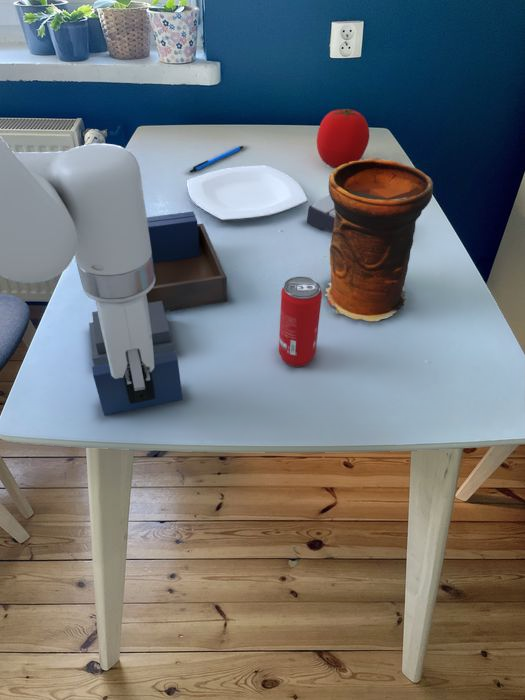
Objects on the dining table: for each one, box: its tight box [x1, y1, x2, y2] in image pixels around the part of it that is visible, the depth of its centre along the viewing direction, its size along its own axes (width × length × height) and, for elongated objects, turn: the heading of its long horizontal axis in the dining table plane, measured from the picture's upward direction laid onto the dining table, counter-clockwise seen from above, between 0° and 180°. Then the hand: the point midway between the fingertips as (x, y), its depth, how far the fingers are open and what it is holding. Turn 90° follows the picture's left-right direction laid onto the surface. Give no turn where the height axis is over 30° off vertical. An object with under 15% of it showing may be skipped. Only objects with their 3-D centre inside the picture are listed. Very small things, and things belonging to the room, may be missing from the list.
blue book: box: [91, 351, 184, 416], centre depth 67 cm, size 10×2×7 cm, turn 107°
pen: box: [189, 145, 245, 173], centre depth 127 cm, size 1×19×1 cm, turn 143°
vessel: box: [324, 157, 434, 322], centre depth 81 cm, size 14×14×20 cm
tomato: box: [316, 108, 370, 169], centre depth 122 cm, size 12×12×13 cm
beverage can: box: [278, 276, 323, 368], centre depth 72 cm, size 5×5×12 cm
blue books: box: [147, 211, 200, 263], centre depth 92 cm, size 10×3×7 cm, turn 107°
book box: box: [146, 223, 228, 312], centre depth 89 cm, size 13×17×5 cm
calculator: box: [306, 194, 336, 233], centre depth 103 cm, size 11×4×15 cm
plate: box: [186, 164, 309, 221], centre depth 112 cm, size 23×23×2 cm
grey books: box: [88, 301, 176, 367], centre depth 77 cm, size 11×8×4 cm
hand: (141, 392), depth 68 cm, fingers closed on blue book, 1 cm apart
